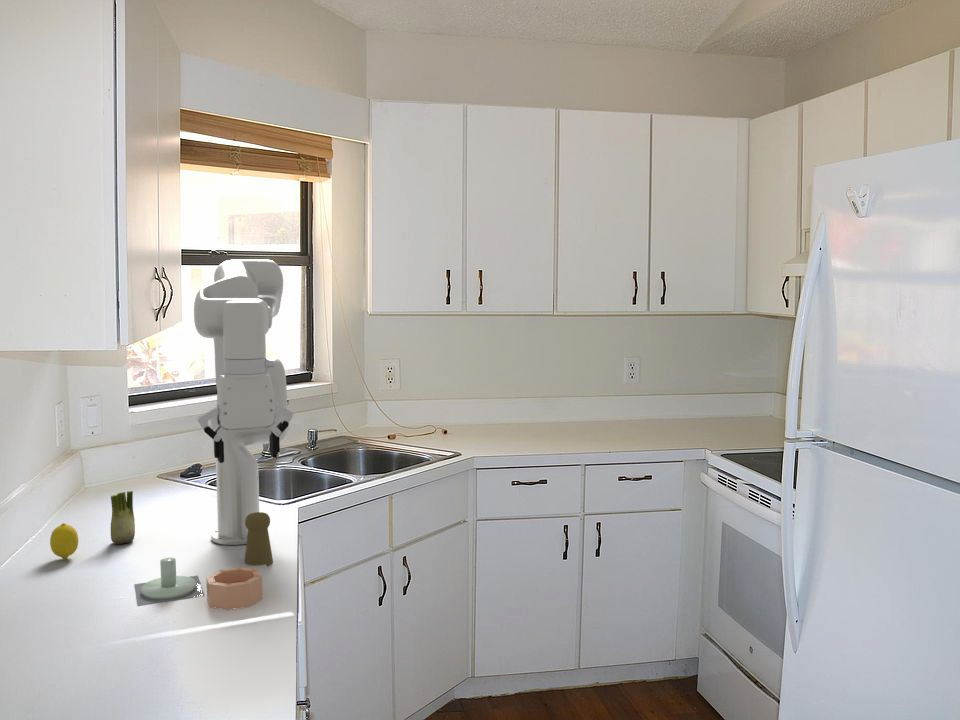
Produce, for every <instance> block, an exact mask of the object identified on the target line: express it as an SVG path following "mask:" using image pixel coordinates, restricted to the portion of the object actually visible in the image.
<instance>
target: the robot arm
mask: <svg viewBox="0 0 960 720" xmlns="http://www.w3.org/2000/svg"><path fill="white" fill-rule="evenodd" d="M283 290H284V276H283V272H282V269H281V267H280V265H279V264H277V262H275V261H273V260H272V259H271V260H270V259H237V258H236V259H230V260H229V259H228V260H225V261H223V262H222V263H220V264H219V265H217V268H215V271H214V275H213V283H211V284H207V285H205V286H203V287H202V288H201V289H200V290H199V291H198V292H197V294H196V296H195V298H194V303H193V304H194V305H193V319H194V320H193V321H194V326H195V329H196V331H197V333H198V334H199V335H200V336H201V337H203V338H206V339H212V340H213V345H214V346H213V347H214V371H215V385H216V386H215V387H216V390H217V394H216V406H215V407H214V408H212V409H210V410H209V411H206V412H205V413H203V414H201V415H200V416H198V417H197V422H198V423H199V425H200V426H201V429H202V430H203V432H204V433H205V434H207V436H209V437H210V438H211V439H212V441H213V454H214V455H213V456H214V459H215V471H216V472H215V473H216V474H215V475H216V476H215V477H216V504H217V506H216V507H217V508H216V509H217V529H216V530H214V531H213V532H211V535H210V539H211V541H212V542H213V543H215V544H219V545H225V546H238V545H246V544H247V534H248V529H247V527H246V525H245V519H246V517H247V516H248V515H249V514H251V513H256V512H260V489H259V488H260V486H259V485H260V483H259V482H260V481H259V464H258V460H257V459H256V457H255V456H254V455H253V453H252V452H251V451H250V450H249V449H248V448H247V446H252V445H268V444H269V455H270V456H271V457H272V458H273V459H277V458H278V453H280V451H281V446H280V445H281V444H280V443H282V442H284V441H285V440H286V439H287V436H288V434H289V424H290V423H291V420H292V418H293V417H294V412H293V410H290V409H288V391H287V376H286V371H285V366H284V365H283V362H282V361H280V359H278V358H276V357H267V356H266V355H267V351H266V345H267V344H266V334H268V332H269V331H270V329H271V328H272V325H273V318H274V317H276V316H277V315H278V314H279V311H280V308H281V302H282V296H283ZM208 421H210V425H209V422H208Z"/></svg>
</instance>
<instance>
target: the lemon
mask: <svg viewBox="0 0 960 720" xmlns="http://www.w3.org/2000/svg"><path fill="white" fill-rule="evenodd" d="M49 544H50V550H51V552H52V553H53V554H54V555H55V556H57V557H60V558H62V559H63V560H67V559H68V558H69V557H70V556H71V555H74V553H75V552H76V551H77V549H78V547H79V534H78V531H77V530H76V529H75V527H74V526H72V525H69V524H67V523H65V522H64V523H61V524H60V525H58V526H56V527H55V528H54V529H53V530H52V532H51V535H50V540H49Z"/></svg>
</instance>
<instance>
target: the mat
mask: <svg viewBox="0 0 960 720" xmlns="http://www.w3.org/2000/svg"><path fill="white" fill-rule="evenodd" d="M189 577H191V578H193V579H194V580H195V581H196V585H197V583H198V584H199V583H200V584H201V581H200V578H199V576H198V575H191V576H190V575H189ZM145 583H146V582H141V583H135V584H134V590H135V596H136V598H135V599H136V604H137V605H136V606H137V607H141V606H147V605H154V604H161V603H168V602H173V601H174V602H175V601H180V600H187V599H188V600H189V599H194V598H193V597H194V596H195V598H200V597H199V595H200V594H203V596H202V597H205V596H204V595H205V592H204V589H203V586H202V587H201V588H202V589H203V590H202V593H201V590H200V592H199V591H197V589H198V588H197V586H198V585H197V586H196V589H195V590H194V591H193V592H191V593H189V594H187V595H185V596H182V597H178V598H173V599H165V600H155V599H148V598H145V597H144V596H142V593H141V587H142V586H143V585H144V584H145ZM201 585H202V584H201ZM197 595H198V597H197ZM200 596H201V595H200Z"/></svg>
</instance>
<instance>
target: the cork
mask: <svg viewBox="0 0 960 720" xmlns="http://www.w3.org/2000/svg"><path fill="white" fill-rule="evenodd" d="M245 525H246V527H247V529H248V534H247V544H245V555H244V564H246V565H248V566H256V567H257V566H262V565H263V566H265V565H266V567H270V566H271V565H273V563H274V558H273V553H272V546H271V539H270V534H269V529H268V528H269V527H270V525H271V518H270V516H269V514H268V513H266V512H261V511H259V512H256V513H251V514H249V515H248V516H247V517H246V519H245Z"/></svg>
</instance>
